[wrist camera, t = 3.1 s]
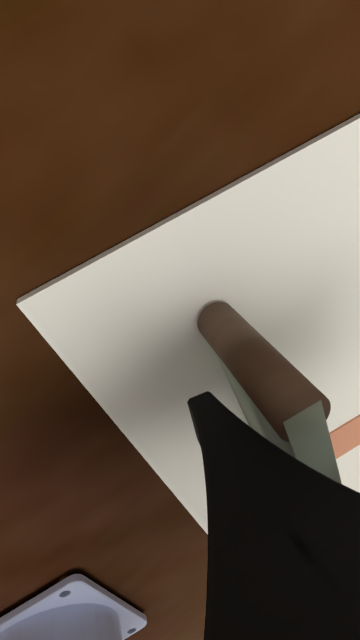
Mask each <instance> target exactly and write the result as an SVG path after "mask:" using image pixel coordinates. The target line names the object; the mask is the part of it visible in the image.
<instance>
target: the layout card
mask: <svg viewBox="0 0 360 640" xmlns="http://www.w3.org/2000/svg"><path fill="white" fill-rule="evenodd" d="M214 302H225V303H227V304H229V305H230V306H231V307H232V308H233V309H234V310H235V311H236V312H238V313H239V314H240V315H241V316H242V317H243V318H244V319H245V320H246V321H247V322H248V323H249V324H250V325H251V326H252V327H253V328H254V329H255V330H256V331H258V332H259V333H260V334H261V335H262V336H263V337H264V338H265V339H266V340H267V341H268V342H269V343H270V344H271V345H272V346H273V347H274V348H275V349H276V350H277V351H279V352H280V353H281V354H282V355H283V356H284V357H285V358H286V359H287V360H288V361H289V362H290V363H291V364H292V365H293V366H294V367H295V368H296V369H297V370H299V371H300V372H301V373H302V374H303V375H304V376H305V377H306V378H307V379H308V380H309V381H310V382H311V383H312V384H313V385H314V386H315V387H316V388H317V389H318V390H320V391H321V392H322V393H323V394H324V395H325V396H326V397H327V398H328V399H329V401H330V404H331V410H330V414H329V416H328V418H327V420H326V422H327V426H328V430H329V434H330V438H331V442H332V446H333V450H334V454H335V458H336V462H337V466H338V470H339V474H340V478H341V483H342V484H343V485H345V486H347V487H349V488H351V489H353V490H355V491H357V492H359V493H360V114H358V115H356V116H354V117H352V118H350V119H349V120H347V121H345V122H343V123H341V124H339V125H337V126H336V127H334V128H332V129H330V130H328V131H326V132H325V133H323V134H321V135H319V136H317V137H315V138H313V139H312V140H310V141H308V142H306V143H304V144H302V145H301V146H299V147H297V148H295V149H293V150H291V151H289V152H288V153H286V154H284V155H282V156H280V157H278V158H277V159H275V160H273V161H271V162H269V163H267V164H265V165H264V166H262V167H260V168H258V169H256V170H254V171H253V172H251V173H249V174H247V175H245V176H243V177H241V178H240V179H238V180H236V181H234V182H232V183H230V184H229V185H227V186H225V187H223V188H221V189H219V190H217V191H216V192H214V193H212V194H210V195H208V196H206V197H205V198H203V199H201V200H199V201H197V202H195V203H193V204H192V205H190V206H188V207H186V208H184V209H182V210H181V211H179V212H177V213H175V214H173V215H171V216H169V217H168V218H166V219H164V220H162V221H160V222H158V223H157V224H155V225H153V226H151V227H149V228H147V229H145V230H144V231H142V232H140V233H138V234H136V235H134V236H133V237H131V238H129V239H127V240H125V241H123V242H121V243H120V244H118V245H116V246H114V247H112V248H110V249H109V250H107V251H105V252H103V253H101V254H99V255H97V256H96V257H94V258H92V259H90V260H88V261H86V262H85V263H83V264H81V265H79V266H77V267H75V268H73V269H72V270H70V271H68V272H66V273H64V274H62V275H61V276H59V277H57V278H55V279H53V280H51V281H49V282H48V283H46V284H44V285H42V286H40V287H38V288H37V289H35V290H33V291H31V292H29V293H27V294H25V295H24V296H22V297H20V298H18V299H17V303H16V305H17V306H18V307H19V308H20V310H21V311H22V312H23V313H24V314H25V316H26V317H27V318H28V319H29V320H30V322H31V323H32V324H33V325H34V326H35V328H36V329H37V330H38V331H39V332H40V334H41V335H42V336H43V337H44V338H45V340H46V341H47V342H48V343H49V344H50V346H51V347H52V348H53V349H54V351H55V352H56V353H57V354H58V355H59V357H60V358H61V359H62V360H63V361H64V363H65V364H66V365H67V366H68V367H69V369H70V370H71V371H72V372H73V373H74V375H75V376H76V377H77V378H78V379H79V381H80V382H81V383H82V384H83V385H84V387H85V388H86V389H87V390H88V391H89V393H90V394H91V395H92V396H93V397H94V399H95V400H96V401H97V402H98V403H99V405H100V406H101V407H102V408H103V409H104V411H105V412H106V413H107V414H108V415H109V417H110V418H111V419H112V420H113V421H114V423H115V424H116V425H117V426H118V427H119V429H120V430H121V431H122V432H123V433H124V435H125V436H126V437H127V438H128V439H129V441H130V442H131V443H132V444H133V445H134V447H135V448H136V449H137V450H138V452H139V453H140V454H141V455H142V456H143V458H144V459H145V460H146V461H147V462H148V464H149V465H150V466H151V467H152V468H153V470H154V471H155V472H156V473H157V474H158V476H159V477H160V478H161V479H162V480H163V482H164V483H165V484H166V485H167V486H168V488H169V489H170V490H171V491H172V492H173V494H174V495H175V496H176V497H177V498H178V500H179V501H180V502H181V503H182V504H183V506H184V507H185V508H186V509H187V510H188V512H189V513H190V514H191V515H192V516H193V518H194V519H195V520H196V521H197V522H198V524H199V525H200V526H201V527H202V528H203V530H204V531H205V532H206V533H207V534H208V518H207V497H206V484H205V474H204V465H203V457H202V451H201V447H200V444H199V442H198V440H197V436H196V433H195V429H194V425H193V422H192V418H191V414H190V411H189V407H188V404H187V402H188V400H189V399H190V398H192V397H194V396H197V395H199V394H202V393H204V392H207V391H208V392H211V393H212V394H213V395H214V396H215V397H216V398H217V399H218V400H219V401H220V402H221V403H222V404H223V405H224V406H226V407H227V408H228V409H229V410H230V411H231V412H232V413H234V414H235V415H236V416H237V417H238V418H240V419H241V420H242V421H243V422H245V423H246V424H247V425H249V424H248V422H247V420H246V418H245V416H244V414H243V411H242V409H241V407H240V405H239V403H238V401H237V398H236V396H235V394H234V392H233V390H232V388H231V385H230V383H229V381H228V379H227V377H226V374H225V372H224V370H223V368H222V366H221V364H220V361H219V359H218V357H217V355H216V353H215V351H214V350H213V349H212V347H211V346H210V345H209V343H208V342H207V341H206V339H205V338H204V337H203V335H202V334H201V333H200V331H199V329H198V326H197V321H198V317H199V315H200V313H201V312H202V310H203V309H204V308H205V307H207V306H208V305H210V304H212V303H214Z"/></svg>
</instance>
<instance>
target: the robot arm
mask: <svg viewBox="0 0 360 640" xmlns="http://www.w3.org/2000/svg"><path fill="white" fill-rule="evenodd" d="M187 404H188V407H189V411H190V414H191V418H192V422H193V425H194V429H195V433H196V436H197V440H198V442H199V444H200V447H201V451H202V457H203V465H204V474H205V484H206V497H207V518H208V571H207V600H206V617H205V630H204V640H360V493H359V492H357V491H355V490H353V489H351V488H349V487H347V486H345V485H343V484H341V483H338V482H336V481H334V480H333V479H331V478H329V477H327V476H325V475H323V474H322V473H320V472H318V471H316V470H314V469H313V468H311V467H309V466H308V465H306V464H304V463H302V462H301V461H299V460H297V459H296V458H294V457H293V456H291V455H289V454H288V453H286V452H285V451H283V450H282V449H280V448H279V447H277V446H276V445H274V444H273V443H272V442H270V441H269V440H267V439H266V438H264V437H263V436H262V435H260V434H259V433H258V432H256V431H255V430H254V429H252V428H251V427H250V426H249V425H247V424H246V423H245V422H243V421H242V420H241V419H240V418H238V417H237V416H236V415H235V414H234V413H232V412H231V411H230V410H229V409H228V408H227V407H226V406H224V405H223V404H222V403H221V402H220V401H219V400H218V399H217V398H216V397H215V396H214V395H213V394H212V393H211V392H208V391H207V392H204V393H202V394H199V395H197V396H194V397H192V398H190V399H189V400H188V402H187ZM146 624H147V618H146V615H145V614H143V613H142V612H140V611H138V610H137V609H135V608H134V607H132V606H131V605H129V604H127V603H126V602H124V601H123V600H121V599H120V598H118V597H116V596H115V595H113V594H112V593H110V592H109V591H107V590H106V589H104V588H102V587H101V586H99V585H98V584H96V583H95V582H93V581H91V580H90V579H88V578H87V577H85V576H84V575H82V574H73V575H70V576H68V577H67V578H65V579H63V580H62V581H60V582H58V583H57V584H55V585H53V586H52V587H50V588H48V589H47V590H45V591H43V592H42V593H40V594H39V595H37V596H35V597H34V598H32V599H30V600H29V601H27V602H25V603H24V604H22V605H20V606H19V607H17V608H15V609H14V610H12V611H10V612H9V613H7V614H5V615H4V616H2V617H0V640H125V639H126V638H128V637H129V636H131V635H133V634H134V633H136V632H137V631H139V630H141V629H142V628H144V627H145V626H146Z"/></svg>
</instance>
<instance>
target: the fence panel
mask: <svg viewBox="0 0 360 640" xmlns="http://www.w3.org/2000/svg"><path fill="white" fill-rule="evenodd" d="M197 326H198V329H199V331H200V333H201V334H202V335H203V337H204V338H205V339H206V341H207V342H208V343H209V345H210V346H211V347H212V349H213V350H214V351H215V353H216V355H217V357H218V359H219V361H220V364H221V366H222V368H223V370H224V372H225V374H226V377H227V379H228V381H229V383H230V385H231V388H232V390H233V392H234V394H235V396H236V398H237V401H238V403H239V405H240V407H241V409H242V411H243V414H244V416H245V418H246V420H247V422H248V424H249V426H250V427H251V428H252V429H254V430H255V431H256V432H258V433H259V434H260V435H262V436H263V437H264V438H266V439H267V440H269V441H270V442H272V443H273V444H274V445H276V446H277V447H279V448H280V449H282V450H283V451H285V452H286V453H288V454H289V455H291V456H293V457H294V458H296V459H297V460H299V461H301V462H302V463H304V464H306V465H308V466H309V467H311V468H313V469H314V470H316V471H318V472H320V473H322V474H323V475H325V476H327V477H329V478H331V479H333V480H334V481H336V482H338V483H341V478H340V474H339V470H338V466H337V462H336V458H335V454H334V450H333V446H332V442H331V438H330V434H329V430H328V426H327V422H326V420H327V418H328V416H329V414H330V410H331V404H330V401H329V399H328V398H327V397H326V396H325V395H324V394H323V393H322V392H321V391H320V390H318V389H317V388H316V387H315V386H314V385H313V384H312V383H311V382H310V381H309V380H308V379H307V378H306V377H305V376H304V375H303V374H302V373H301V372H300V371H299V370H297V369H296V368H295V367H294V366H293V365H292V364H291V363H290V362H289V361H288V360H287V359H286V358H285V357H284V356H283V355H282V354H281V353H280V352H279V351H277V350H276V349H275V348H274V347H273V346H272V345H271V344H270V343H269V342H268V341H267V340H266V339H265V338H264V337H263V336H262V335H261V334H260V333H259V332H258V331H256V330H255V329H254V328H253V327H252V326H251V325H250V324H249V323H248V322H247V321H246V320H245V319H244V318H243V317H242V316H241V315H240V314H239V313H238V312H236V311H235V310H234V309H233V308H232V307H231V306H230V305H229V304H227V303H225V302H214V303H212V304H210V305H208V306H207V307H205V308H204V309H203V310H202V312H201V313H200V315H199V317H198V321H197ZM341 484H342V483H341Z"/></svg>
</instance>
